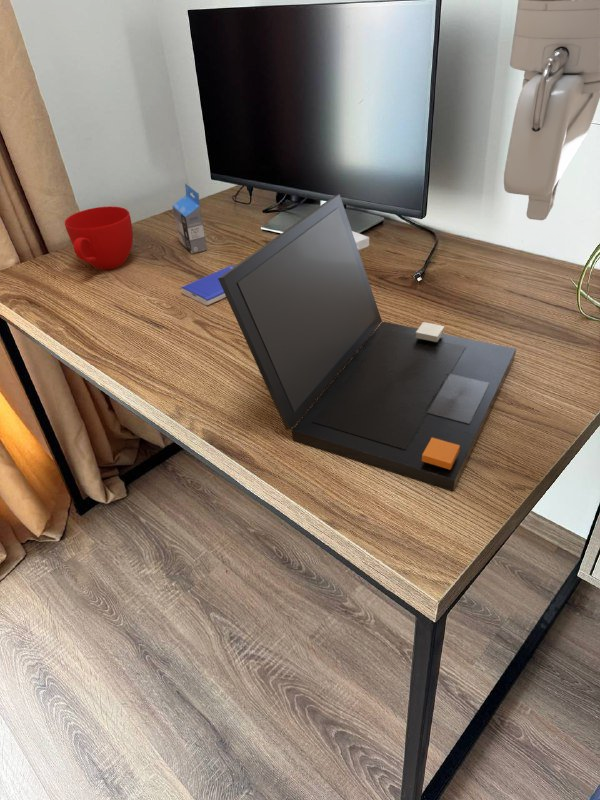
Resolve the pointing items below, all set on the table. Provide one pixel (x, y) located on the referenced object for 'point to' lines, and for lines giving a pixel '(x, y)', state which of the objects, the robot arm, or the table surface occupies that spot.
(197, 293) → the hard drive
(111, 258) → the ceramic cup
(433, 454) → the key amber
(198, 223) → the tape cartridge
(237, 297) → the laptop screen
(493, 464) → the table surface
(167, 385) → the table surface
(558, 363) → the table surface
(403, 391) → the laptop
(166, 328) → the table surface
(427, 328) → the off-white flat block
